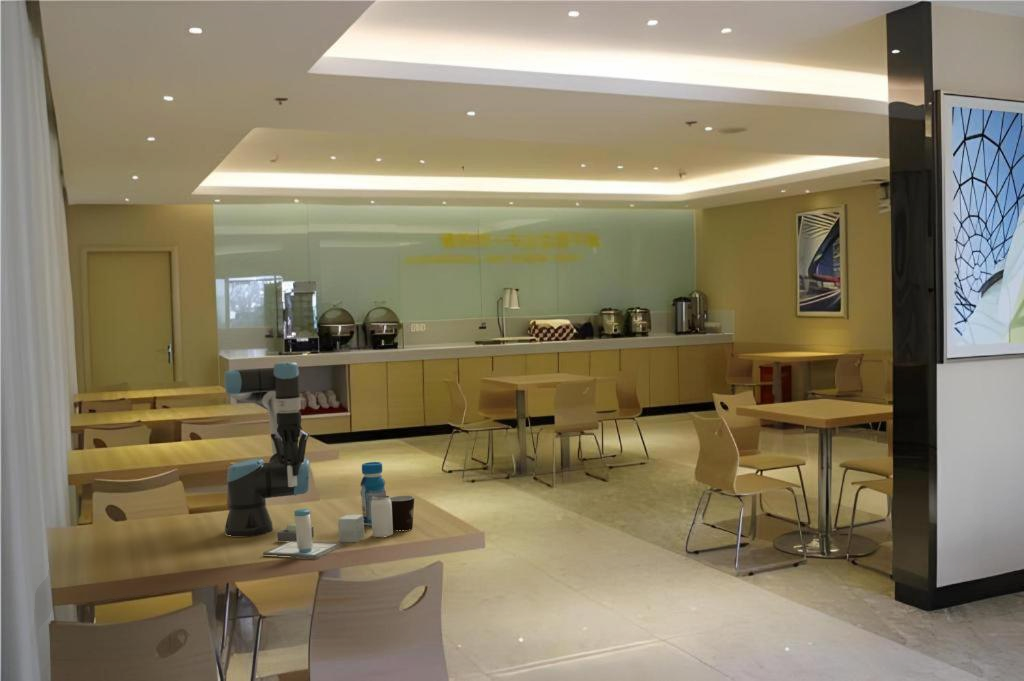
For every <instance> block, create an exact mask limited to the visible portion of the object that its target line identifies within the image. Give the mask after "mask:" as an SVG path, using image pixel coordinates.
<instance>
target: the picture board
mask: <svg viewBox="0 0 1024 681" xmlns="http://www.w3.org/2000/svg"><path fill="white" fill-rule="evenodd" d="M312 543H313V547H311V548H312V551H310V552H307V553H300V552H299V549H298V548H297V541H289V542H283V543H282V544H279V545H278V546H275V547H273V548H270V549H268V550H266V551H264V552H262V556H263V555H277V556H290V557H297V558H296V559H304V560H318V559H320V558H322V557H324V556H326V555H328V554H330V553H332V552H334V551H336V550H338V549H341V548H342V542H325V541H312ZM337 548H338V549H337ZM335 549H336V550H335Z"/></svg>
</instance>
